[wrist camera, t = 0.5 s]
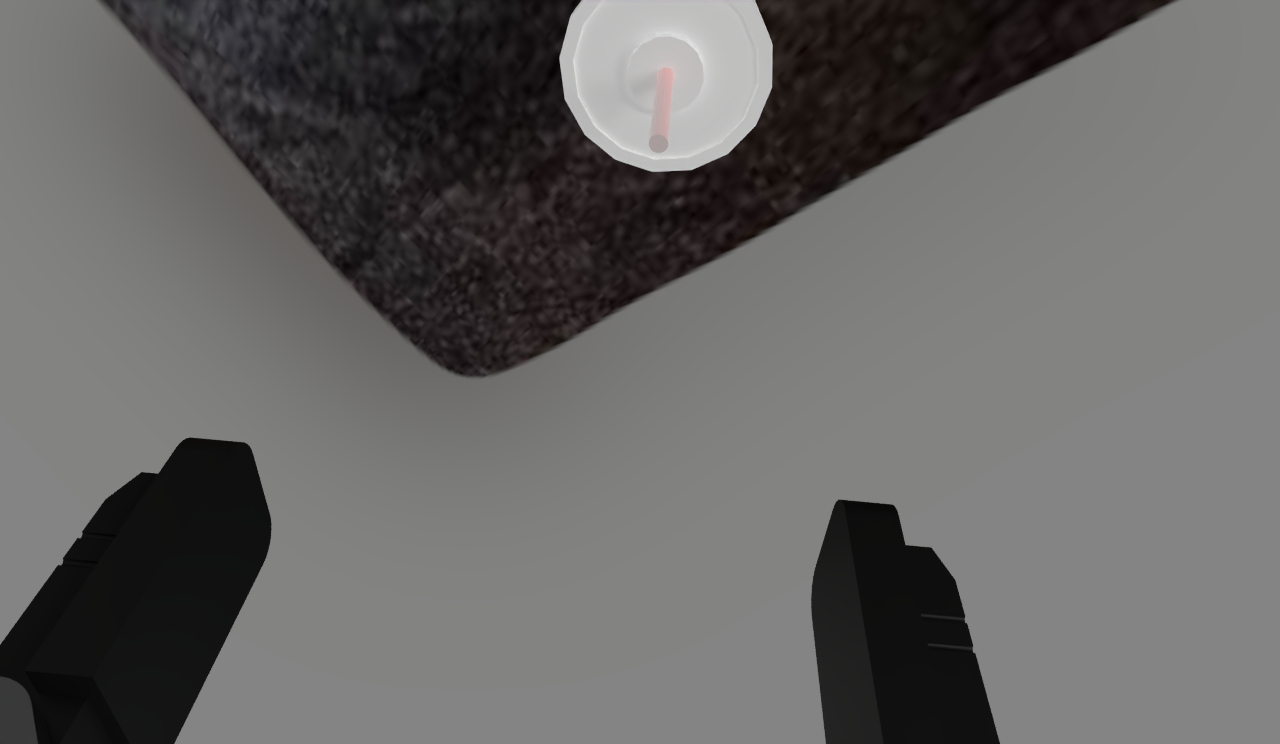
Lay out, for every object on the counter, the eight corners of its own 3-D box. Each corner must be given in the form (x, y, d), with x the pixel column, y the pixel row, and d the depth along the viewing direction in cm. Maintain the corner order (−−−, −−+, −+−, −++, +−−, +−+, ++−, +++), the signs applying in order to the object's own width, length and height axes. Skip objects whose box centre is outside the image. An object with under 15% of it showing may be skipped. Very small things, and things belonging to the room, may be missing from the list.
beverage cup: (775, -91, 31) (814, 31, 20) (741, 83, 34) (758, 269, 23) (599, -116, 30) (537, -7, 19) (585, 61, 34) (526, 238, 23)
